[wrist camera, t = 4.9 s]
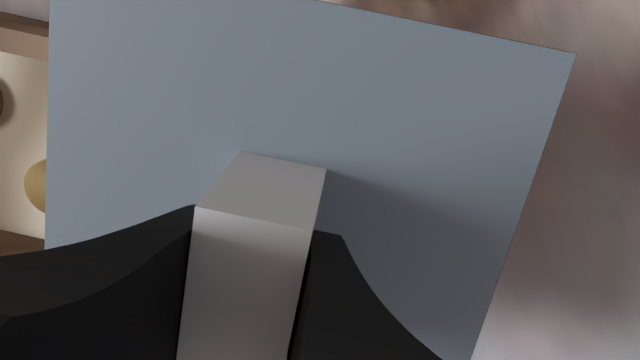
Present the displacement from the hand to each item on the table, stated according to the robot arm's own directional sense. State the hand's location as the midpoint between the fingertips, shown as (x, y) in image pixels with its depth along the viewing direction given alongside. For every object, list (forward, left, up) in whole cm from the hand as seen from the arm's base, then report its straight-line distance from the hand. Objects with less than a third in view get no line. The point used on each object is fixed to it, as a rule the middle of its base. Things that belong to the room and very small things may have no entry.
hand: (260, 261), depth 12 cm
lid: (0, 0, -2) cm, 2 cm away
